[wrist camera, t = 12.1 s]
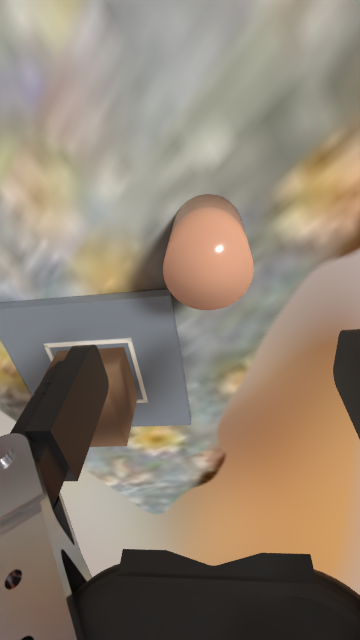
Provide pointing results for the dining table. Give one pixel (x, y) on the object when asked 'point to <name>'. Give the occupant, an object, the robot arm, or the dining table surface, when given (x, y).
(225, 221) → the terracotta cylinder
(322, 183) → the dining table surface
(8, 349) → the board
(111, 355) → the walnut block
